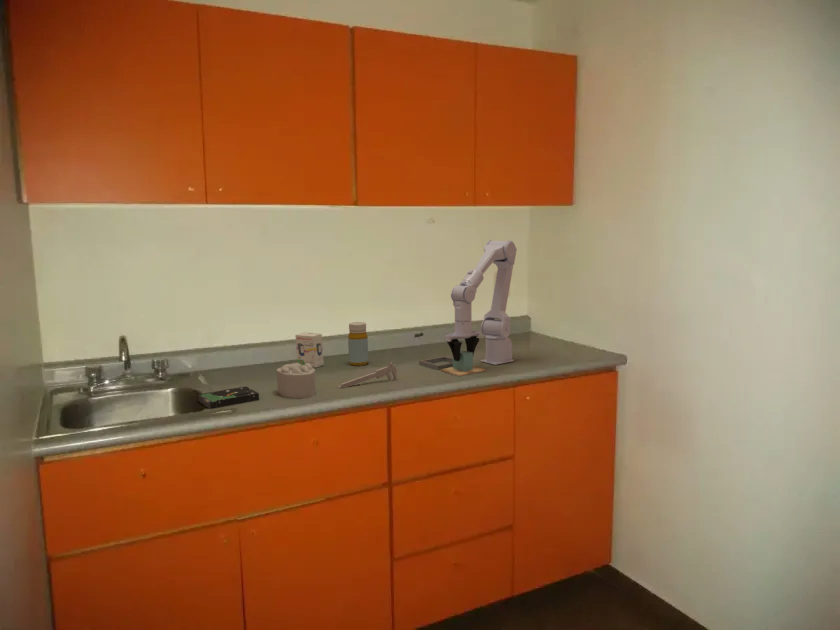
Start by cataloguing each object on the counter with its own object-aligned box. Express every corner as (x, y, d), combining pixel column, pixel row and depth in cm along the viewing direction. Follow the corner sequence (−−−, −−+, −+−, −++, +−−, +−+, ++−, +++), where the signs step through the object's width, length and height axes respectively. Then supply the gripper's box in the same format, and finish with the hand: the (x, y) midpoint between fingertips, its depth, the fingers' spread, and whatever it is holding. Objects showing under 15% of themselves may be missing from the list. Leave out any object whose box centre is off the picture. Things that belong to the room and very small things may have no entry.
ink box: (324, 365, 234) (322, 333, 233) (315, 368, 230) (314, 335, 228) (304, 363, 238) (303, 331, 236) (296, 366, 233) (294, 334, 232)
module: (461, 366, 226) (461, 349, 225) (472, 369, 221) (472, 352, 221) (452, 368, 224) (452, 351, 223) (463, 371, 219) (463, 354, 218)
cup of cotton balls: (304, 386, 206) (303, 359, 204) (323, 394, 195) (322, 366, 194) (273, 391, 200) (272, 364, 198) (291, 400, 189) (290, 371, 188)
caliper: (395, 379, 213) (394, 361, 212) (396, 380, 212) (396, 361, 211) (337, 388, 203) (336, 369, 202) (338, 389, 202) (338, 369, 201)
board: (467, 365, 230) (467, 364, 230) (486, 370, 222) (486, 369, 222) (440, 370, 223) (440, 369, 223) (459, 376, 215) (459, 374, 215)
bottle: (354, 367, 231) (353, 325, 229) (345, 363, 237) (344, 323, 234) (371, 364, 235) (370, 323, 232) (362, 361, 240) (361, 321, 238)
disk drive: (246, 394, 198) (198, 402, 190) (246, 385, 198) (197, 393, 189) (260, 402, 190) (210, 410, 182) (259, 392, 190) (209, 401, 181)
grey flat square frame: (445, 360, 240) (445, 356, 240) (464, 365, 231) (464, 361, 231) (419, 364, 233) (419, 360, 233) (438, 370, 224) (438, 365, 224)
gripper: (471, 316, 227) (471, 354, 229) (439, 321, 219) (439, 360, 221) (485, 319, 222) (485, 357, 224) (452, 323, 213) (452, 364, 215)
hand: (463, 359), depth 222 cm, fingers open, 5 cm apart
